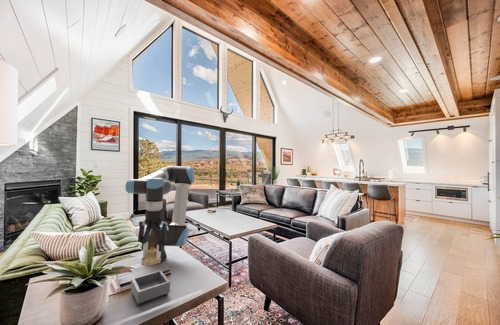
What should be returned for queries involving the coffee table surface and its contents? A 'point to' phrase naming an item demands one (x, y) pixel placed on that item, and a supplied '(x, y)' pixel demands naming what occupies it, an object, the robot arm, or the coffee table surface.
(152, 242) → the hand bell
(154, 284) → the grey footed planter box
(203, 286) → the coffee table surface
